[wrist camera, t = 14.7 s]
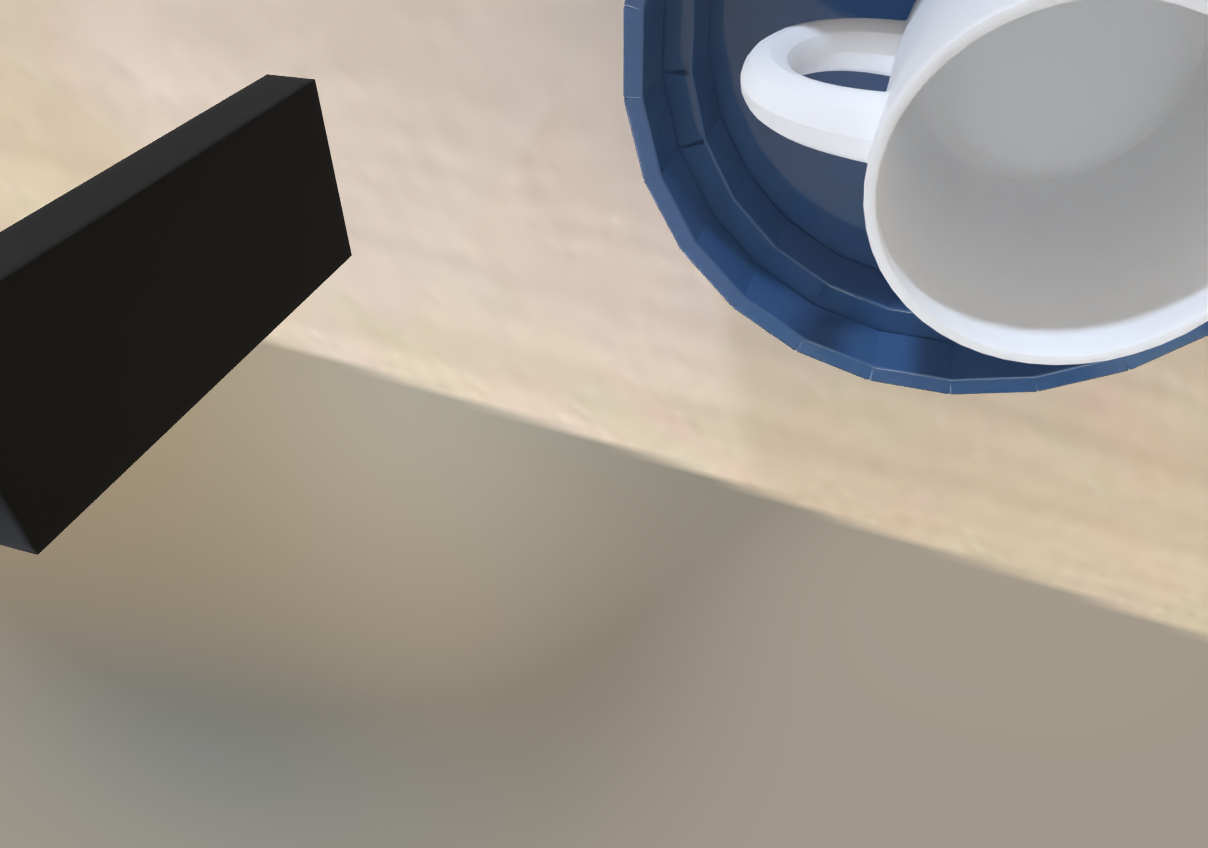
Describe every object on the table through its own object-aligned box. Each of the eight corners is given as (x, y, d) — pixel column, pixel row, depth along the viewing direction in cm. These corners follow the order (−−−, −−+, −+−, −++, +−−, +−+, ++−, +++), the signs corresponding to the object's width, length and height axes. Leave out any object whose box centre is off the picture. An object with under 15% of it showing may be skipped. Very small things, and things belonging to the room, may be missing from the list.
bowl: (660, 269, 36) (622, 338, 32) (681, -392, 24) (623, -402, 20) (1215, 353, 31) (1244, 446, 28) (1590, -420, 19) (1731, -440, 15)
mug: (757, 137, 31) (679, 290, 23) (805, -152, 26) (723, -75, 18) (1143, 206, 29) (1196, 403, 21) (1284, -98, 23) (1424, 17, 16)
